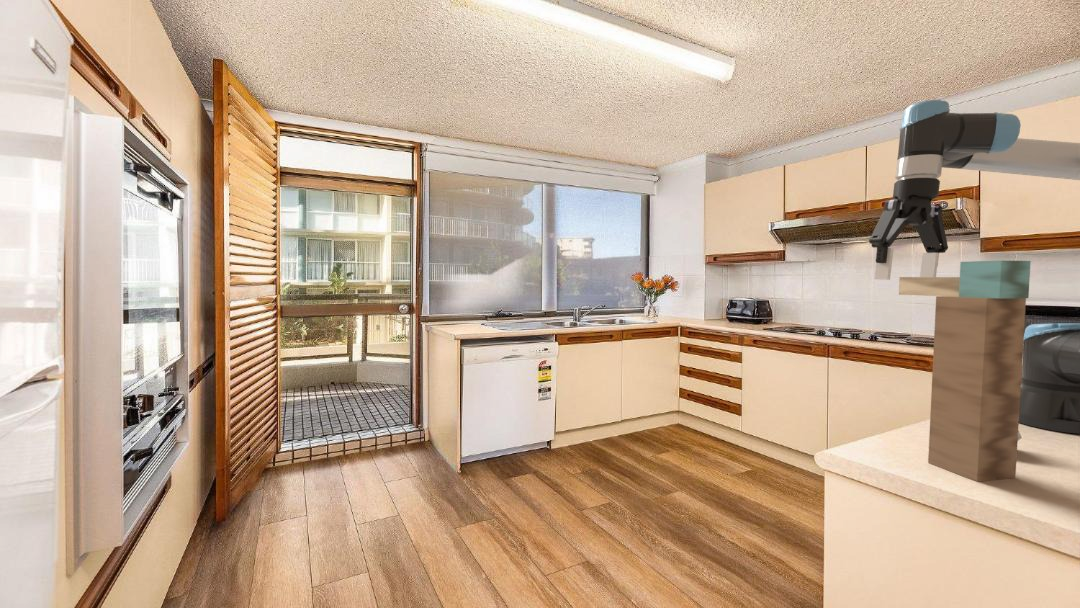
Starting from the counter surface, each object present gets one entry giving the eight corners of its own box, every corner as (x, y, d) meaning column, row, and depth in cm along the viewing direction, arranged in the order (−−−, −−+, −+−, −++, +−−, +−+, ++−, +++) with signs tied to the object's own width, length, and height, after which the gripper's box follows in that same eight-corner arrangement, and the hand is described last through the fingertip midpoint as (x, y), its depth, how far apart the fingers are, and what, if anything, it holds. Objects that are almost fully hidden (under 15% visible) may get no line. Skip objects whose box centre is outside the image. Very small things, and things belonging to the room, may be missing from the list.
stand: (964, 459, 87) (972, 296, 85) (1015, 477, 79) (1025, 298, 77) (928, 462, 85) (936, 296, 83) (976, 481, 77) (986, 298, 76)
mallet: (918, 294, 94) (919, 264, 93) (1028, 298, 76) (1030, 260, 76) (893, 294, 92) (894, 263, 92) (999, 298, 75) (1001, 260, 75)
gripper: (937, 189, 106) (926, 283, 108) (856, 175, 98) (845, 277, 100) (977, 184, 99) (964, 285, 101) (893, 168, 91) (880, 278, 93)
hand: (905, 281), depth 100 cm, fingers open, 13 cm apart
